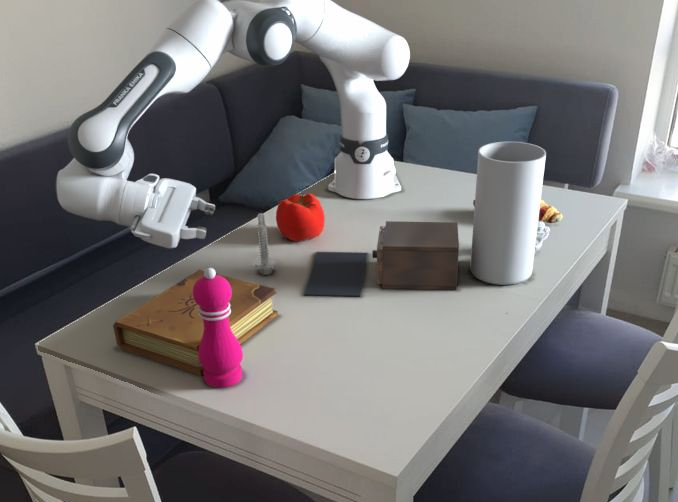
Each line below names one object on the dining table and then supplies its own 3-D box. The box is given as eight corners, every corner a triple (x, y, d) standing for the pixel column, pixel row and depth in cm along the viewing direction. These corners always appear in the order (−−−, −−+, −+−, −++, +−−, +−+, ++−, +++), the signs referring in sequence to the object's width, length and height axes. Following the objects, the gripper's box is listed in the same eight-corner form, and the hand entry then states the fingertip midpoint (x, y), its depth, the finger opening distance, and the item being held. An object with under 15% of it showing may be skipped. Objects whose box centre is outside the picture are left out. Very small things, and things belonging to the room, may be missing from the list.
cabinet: (382, 288, 159) (382, 246, 154) (385, 261, 169) (386, 221, 164) (456, 290, 157) (459, 247, 152) (455, 262, 168) (457, 222, 163)
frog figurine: (545, 259, 168) (549, 228, 164) (511, 256, 170) (514, 225, 166) (548, 248, 173) (552, 218, 169) (516, 244, 175) (519, 214, 171)
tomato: (300, 250, 175) (297, 211, 170) (267, 235, 182) (264, 197, 177) (337, 237, 180) (335, 198, 175) (304, 222, 188) (301, 185, 183)
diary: (199, 295, 158) (196, 268, 155) (278, 316, 150) (275, 288, 147) (117, 348, 141) (111, 319, 138) (200, 375, 134) (196, 345, 130)
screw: (251, 269, 167) (274, 265, 168) (256, 278, 163) (279, 275, 165) (246, 210, 160) (269, 207, 161) (251, 218, 156) (275, 215, 157)
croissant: (561, 233, 188) (568, 199, 187) (557, 228, 178) (565, 192, 177) (474, 220, 194) (480, 187, 193) (465, 215, 185) (472, 180, 184)
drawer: (370, 283, 159) (370, 249, 155) (374, 258, 168) (374, 226, 164) (445, 284, 158) (446, 250, 154) (444, 260, 167) (446, 227, 163)
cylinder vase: (458, 266, 166) (466, 147, 152) (510, 255, 170) (521, 138, 156) (490, 291, 157) (501, 166, 143) (544, 279, 161) (559, 156, 147)
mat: (316, 253, 173) (316, 251, 173) (367, 253, 172) (367, 252, 172) (304, 295, 157) (304, 294, 157) (360, 296, 156) (360, 295, 156)
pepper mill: (210, 394, 129) (193, 282, 118) (195, 373, 134) (179, 264, 123) (251, 382, 131) (239, 271, 120) (236, 361, 137) (223, 254, 126)
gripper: (127, 218, 148) (202, 234, 149) (153, 169, 163) (220, 184, 165) (126, 247, 152) (198, 262, 153) (151, 196, 167) (216, 210, 169)
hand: (210, 221), depth 159 cm, fingers open, 8 cm apart
